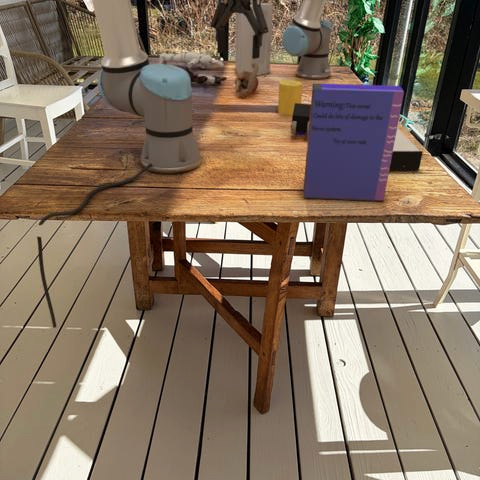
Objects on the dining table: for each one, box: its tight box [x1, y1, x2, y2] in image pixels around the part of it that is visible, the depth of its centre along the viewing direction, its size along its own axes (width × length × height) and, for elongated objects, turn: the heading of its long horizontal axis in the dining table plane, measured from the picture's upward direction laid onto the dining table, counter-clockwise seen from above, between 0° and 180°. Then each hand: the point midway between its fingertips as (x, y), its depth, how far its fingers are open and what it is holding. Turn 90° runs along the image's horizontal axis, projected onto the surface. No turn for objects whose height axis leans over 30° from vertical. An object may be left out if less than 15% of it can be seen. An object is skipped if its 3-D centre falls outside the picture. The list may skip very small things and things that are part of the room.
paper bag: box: [234, 2, 274, 77], centre depth 210 cm, size 19×15×28 cm
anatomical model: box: [234, 63, 260, 99], centre depth 181 cm, size 13×9×15 cm
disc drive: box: [389, 127, 424, 172], centre depth 128 cm, size 18×22×5 cm
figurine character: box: [290, 103, 311, 140], centre depth 143 cm, size 7×8×15 cm
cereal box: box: [302, 83, 405, 202], centre depth 102 cm, size 17×5×24 cm, turn 86°
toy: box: [158, 51, 225, 70], centre depth 222 cm, size 24×25×7 cm
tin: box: [277, 79, 304, 116], centre depth 162 cm, size 8×8×10 cm
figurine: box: [172, 64, 228, 85], centre depth 193 cm, size 24×8×30 cm
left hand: (237, 55), depth 148 cm, fingers open, 13 cm apart
